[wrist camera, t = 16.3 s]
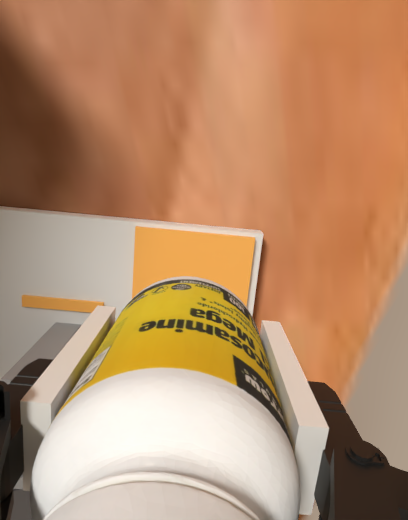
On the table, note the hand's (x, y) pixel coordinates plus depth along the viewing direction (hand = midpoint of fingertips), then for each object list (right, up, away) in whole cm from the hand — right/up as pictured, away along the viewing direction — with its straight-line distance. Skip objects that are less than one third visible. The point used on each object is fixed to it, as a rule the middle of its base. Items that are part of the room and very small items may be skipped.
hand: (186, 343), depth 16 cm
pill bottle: (0, 0, +1) cm, 1 cm away
